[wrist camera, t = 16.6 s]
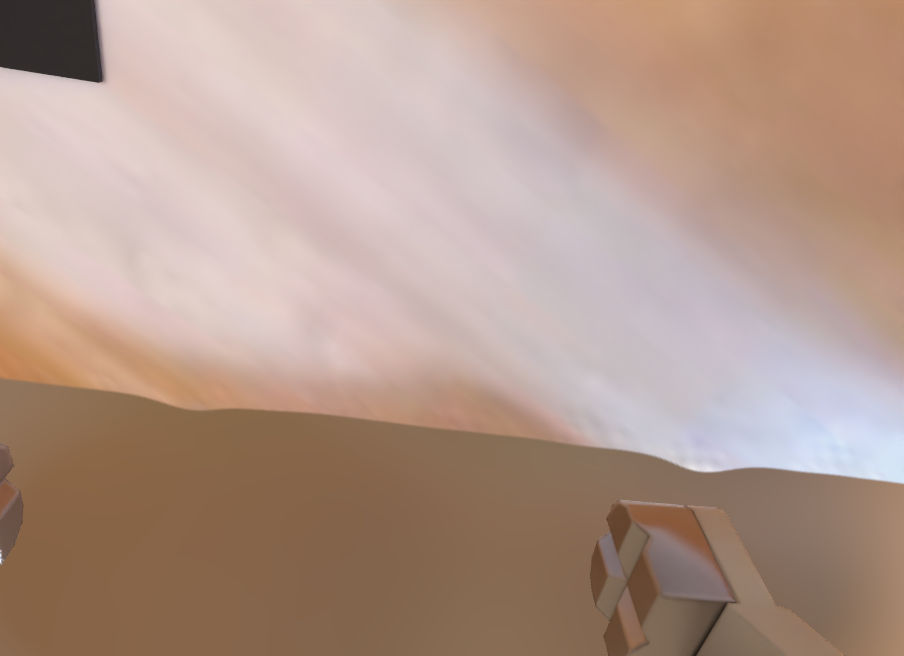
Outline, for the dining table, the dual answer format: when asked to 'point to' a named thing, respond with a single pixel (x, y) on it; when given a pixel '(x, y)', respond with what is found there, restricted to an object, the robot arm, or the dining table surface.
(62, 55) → the felt mat
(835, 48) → the dining table surface
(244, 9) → the dining table surface
